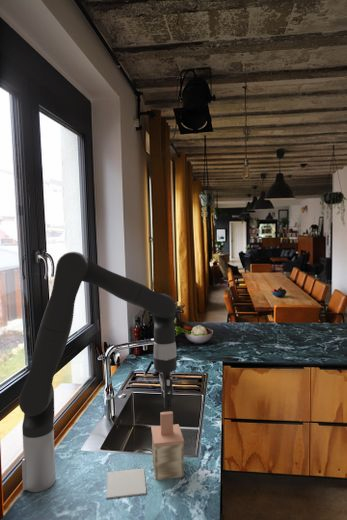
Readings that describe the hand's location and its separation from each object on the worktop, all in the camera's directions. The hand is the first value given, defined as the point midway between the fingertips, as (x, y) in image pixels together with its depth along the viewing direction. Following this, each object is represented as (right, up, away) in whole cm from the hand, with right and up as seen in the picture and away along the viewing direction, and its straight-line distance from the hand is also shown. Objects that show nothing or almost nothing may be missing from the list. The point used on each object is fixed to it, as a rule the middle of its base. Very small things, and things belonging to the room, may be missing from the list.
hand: (166, 402), depth 121 cm
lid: (0, -12, +1) cm, 12 cm away
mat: (-13, -23, -6) cm, 27 cm away
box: (0, -23, +1) cm, 23 cm away
